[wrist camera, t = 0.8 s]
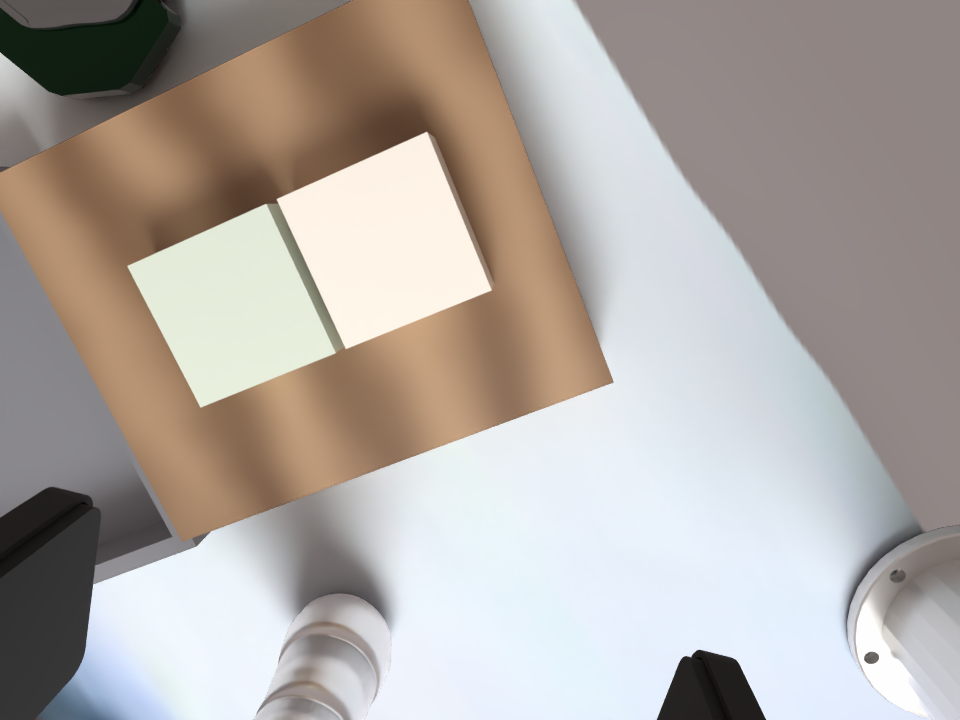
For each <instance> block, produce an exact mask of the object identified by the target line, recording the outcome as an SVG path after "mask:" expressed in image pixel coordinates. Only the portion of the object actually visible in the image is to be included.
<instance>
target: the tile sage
mask: <svg viewBox="0 0 960 720" xmlns="http://www.w3.org/2000/svg"><path fill="white" fill-rule="evenodd" d="M127 267H128V269H129V271H130V273H131V274H132V276H133V278H134V280H135V282H136V284H137V286H138V288H139V290H140V292H141V294H142V296H143V298H144V300H145V301H146V303H147V305H148V307H149V309H150V311H151V313H152V315H153V317H154V319H155V321H156V323H157V325H158V327H159V328H160V330H161V332H162V334H163V336H164V338H165V340H166V342H167V344H168V346H169V348H170V350H171V352H172V353H173V355H174V357H175V359H176V361H177V363H178V365H179V367H180V369H181V371H182V373H183V375H184V377H185V379H186V380H187V382H188V384H189V386H190V388H191V390H192V392H193V394H194V396H195V398H196V400H197V402H198V404H199V406H200V407H203V406H206V405H208V404H211V403H213V402H216V401H218V400H221V399H223V398H226V397H228V396H231V395H233V394H236V393H238V392H241V391H243V390H246V389H248V388H251V387H253V386H256V385H258V384H261V383H263V382H266V381H268V380H270V379H273V378H275V377H278V376H280V375H283V374H285V373H288V372H290V371H293V370H295V369H298V368H300V367H303V366H305V365H308V364H310V363H313V362H315V361H318V360H320V359H323V358H325V357H328V356H330V355H333V354H335V353H337V352H338V351H339V350H340V349H342V348H343V347H344V344H343V342H342V340H341V337H340V335H339V333H338V331H337V329H336V327H335V324H334V322H333V320H332V318H331V316H330V314H329V312H328V309H327V307H326V305H325V303H324V301H323V299H322V296H321V294H320V292H319V290H318V288H317V286H316V283H315V281H314V279H313V277H312V275H311V273H310V270H309V268H308V266H307V264H306V262H305V260H304V257H303V255H302V253H301V251H300V249H299V247H298V244H297V242H296V240H295V238H294V236H293V234H292V232H291V229H290V227H289V225H288V223H287V221H286V219H285V216H284V214H283V212H282V210H281V208H280V206H279V204H265V205H262V206H260V207H258V208H256V209H254V210H251V211H249V212H247V213H245V214H242V215H240V216H238V217H236V218H233V219H231V220H229V221H227V222H224V223H222V224H220V225H218V226H216V227H213V228H211V229H209V230H207V231H204V232H202V233H200V234H198V235H195V236H193V237H191V238H189V239H187V240H184V241H182V242H180V243H178V244H175V245H173V246H171V247H169V248H166V249H164V250H162V251H160V252H157V253H155V254H153V255H151V256H149V257H146V258H144V259H142V260H140V261H137V262H135V263H133V264H131V265H128V266H127Z"/></svg>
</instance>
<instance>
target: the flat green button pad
mask: <svg viewBox="0 0 960 720" xmlns="http://www.w3.org/2000/svg"><path fill="white" fill-rule="evenodd" d="M162 1H163V0H0V52H1V53H2V54H3V55H4V56H6V57H7V58H8V59H9V60H10V61H12V62H13V63H14V64H15V65H17V66H18V67H19V68H20V69H21V70H23V71H24V72H25V73H26V74H28V75H29V76H30V77H31V78H33V79H34V80H35V81H36V82H37V83H39V84H40V85H41V86H42V87H44V88H45V89H46V90H47V91H49V92H52V93H55V94H58V95H61V96H65V97H69V98H74V99H86V98H95V97H104V96H113V95H123V94H132V93H134V92H136V91H137V90H139V89H140V88H142V87H144V85H145V83H146V82H147V80H148V79H149V77H150V76H151V74H152V72H153V71H154V69H155V68H156V66H157V65H158V63H159V62H160V60H161V58H162V57H163V55H164V54H165V52H166V51H167V49H168V48H169V46H170V44H171V43H172V41H173V40H174V38H175V37H176V35H177V33H178V32H179V30H180V29H181V24H180V18H179V15H177V14H176V13H175V12H174V11H173V10H171V9H170V8H169V7H168V6H167V5H166V4H164V3H163V2H162Z"/></svg>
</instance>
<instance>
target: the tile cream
mask: <svg viewBox="0 0 960 720" xmlns="http://www.w3.org/2000/svg"><path fill="white" fill-rule="evenodd" d="M277 201H278V203H279V206H280V208H281V210H282V212H283V214H284V216H285V219H286V221H287V223H288V225H289V227H290V229H291V232H292V234H293V236H294V238H295V240H296V242H297V244H298V247H299V249H300V251H301V253H302V255H303V257H304V260H305V262H306V264H307V266H308V268H309V270H310V273H311V275H312V277H313V279H314V281H315V283H316V286H317V288H318V290H319V292H320V294H321V296H322V299H323V301H324V303H325V305H326V307H327V309H328V312H329V314H330V316H331V318H332V320H333V322H334V324H335V327H336V329H337V331H338V333H339V335H340V337H341V340H342V342H343V344H344V346H345V348H346V349H347V348H350V347H352V346H355V345H357V344H360V343H362V342H365V341H367V340H370V339H372V338H375V337H377V336H380V335H382V334H385V333H387V332H390V331H392V330H395V329H397V328H400V327H402V326H405V325H407V324H410V323H412V322H415V321H417V320H420V319H422V318H424V317H427V316H429V315H432V314H434V313H437V312H439V311H442V310H444V309H447V308H449V307H452V306H454V305H457V304H459V303H462V302H464V301H467V300H469V299H472V298H474V297H477V296H479V295H482V294H484V293H487V292H489V291H492V288H493V286H494V281H493V279H492V276H491V274H490V272H489V269H488V267H487V264H486V262H485V259H484V257H483V254H482V252H481V249H480V247H479V244H478V242H477V240H476V237H475V235H474V232H473V230H472V227H471V225H470V222H469V220H468V217H467V215H466V212H465V210H464V208H463V205H462V203H461V200H460V198H459V195H458V193H457V190H456V188H455V185H454V183H453V181H452V178H451V176H450V173H449V171H448V168H447V166H446V163H445V161H444V158H443V156H442V153H441V151H440V149H439V146H438V144H437V141H436V139H435V137H434V136H432V135H431V134H429V133H428V132H425V133H423V134H421V135H419V136H417V137H414V138H412V139H410V140H408V141H405V142H403V143H401V144H399V145H396V146H394V147H392V148H390V149H388V150H385V151H383V152H381V153H379V154H376V155H374V156H372V157H370V158H367V159H365V160H363V161H361V162H358V163H356V164H354V165H352V166H350V167H347V168H345V169H343V170H341V171H338V172H336V173H334V174H332V175H329V176H327V177H325V178H323V179H321V180H318V181H316V182H314V183H312V184H309V185H307V186H305V187H303V188H300V189H298V190H296V191H294V192H291V193H289V194H287V195H285V196H283V197H280V198H278V199H277Z"/></svg>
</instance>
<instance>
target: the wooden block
mask: <svg viewBox="0 0 960 720" xmlns="http://www.w3.org/2000/svg"><path fill="white" fill-rule="evenodd" d="M425 132H428V133H429V134H431V135H432V136H434V137H435V139H436V141H437V144H438V146H439V149H440V151H441V153H442V156H443V158H444V161H445V163H446V166H447V168H448V171H449V173H450V176H451V178H452V181H453V183H454V185H455V188H456V190H457V193H458V195H459V198H460V200H461V203H462V205H463V208H464V210H465V212H466V215H467V217H468V220H469V222H470V225H471V227H472V230H473V232H474V235H475V237H476V240H477V242H478V244H479V247H480V249H481V252H482V254H483V257H484V259H485V262H486V264H487V267H488V269H489V272H490V274H491V276H492V279H493V281H494V286H493V288H492V291H489V292H487V293H484V294H482V295H479V296H477V297H474V298H472V299H469V300H467V301H464V302H462V303H459V304H457V305H454V306H452V307H449V308H447V309H444V310H442V311H439V312H437V313H434V314H432V315H429V316H427V317H424V318H422V319H420V320H417V321H415V322H412V323H410V324H407V325H405V326H402V327H400V328H397V329H395V330H392V331H390V332H387V333H385V334H382V335H380V336H377V337H375V338H372V339H370V340H367V341H365V342H362V343H360V344H357V345H355V346H352V347H350V348H347V349H346V348H345V346H344V347H343V348H342V349H340V350H339V351H338V352H337V353H335V354H333V355H330V356H328V357H325V358H323V359H320V360H318V361H315V362H313V363H310V364H308V365H305V366H303V367H300V368H298V369H295V370H293V371H290V372H288V373H285V374H283V375H280V376H278V377H275V378H273V379H270V380H268V381H266V382H263V383H261V384H258V385H256V386H253V387H251V388H248V389H246V390H243V391H241V392H238V393H236V394H233V395H231V396H228V397H226V398H223V399H221V400H218V401H216V402H213V403H211V404H208V405H206V406H203V407H200V406H199V404H198V402H197V400H196V398H195V396H194V394H193V392H192V390H191V388H190V386H189V384H188V382H187V380H186V379H185V377H184V375H183V373H182V371H181V369H180V367H179V365H178V363H177V361H176V359H175V357H174V355H173V353H172V352H171V350H170V348H169V346H168V344H167V342H166V340H165V338H164V336H163V334H162V332H161V330H160V328H159V327H158V325H157V323H156V321H155V319H154V317H153V315H152V313H151V311H150V309H149V307H148V305H147V303H146V301H145V300H144V298H143V296H142V294H141V292H140V290H139V288H138V286H137V284H136V282H135V280H134V278H133V276H132V274H131V273H130V271H129V269H128V267H127V266H128V265H131V264H133V263H135V262H137V261H140V260H142V259H144V258H146V257H149V256H151V255H153V254H155V253H157V252H160V251H162V250H164V249H166V248H169V247H171V246H173V245H175V244H178V243H180V242H182V241H184V240H187V239H189V238H191V237H193V236H195V235H198V234H200V233H202V232H204V231H207V230H209V229H211V228H213V227H216V226H218V225H220V224H222V223H224V222H227V221H229V220H231V219H233V218H236V217H238V216H240V215H242V214H245V213H247V212H249V211H251V210H254V209H256V208H258V207H260V206H262V205H265V204H279V203H278V201H277V199H278V198H280V197H283V196H285V195H287V194H289V193H291V192H294V191H296V190H298V189H300V188H303V187H305V186H307V185H309V184H312V183H314V182H316V181H318V180H321V179H323V178H325V177H327V176H329V175H332V174H334V173H336V172H338V171H341V170H343V169H345V168H347V167H350V166H352V165H354V164H356V163H358V162H361V161H363V160H365V159H367V158H370V157H372V156H374V155H376V154H379V153H381V152H383V151H385V150H388V149H390V148H392V147H394V146H396V145H399V144H401V143H403V142H405V141H408V140H410V139H412V138H414V137H417V136H419V135H421V134H423V133H425ZM0 211H1V213H2V215H3V216H4V218H5V220H6V222H7V224H8V225H9V227H10V229H11V231H12V233H13V235H14V236H15V238H16V240H17V242H18V244H19V245H20V247H21V249H22V251H23V253H24V255H25V256H26V258H27V260H28V262H29V264H30V266H31V267H32V269H33V271H34V273H35V275H36V276H37V278H38V280H39V282H40V284H41V286H42V287H43V289H44V291H45V293H46V295H47V296H48V298H49V300H50V302H51V304H52V306H53V307H54V309H55V311H56V313H57V315H58V317H59V318H60V320H61V322H62V324H63V326H64V327H65V329H66V331H67V333H68V335H69V337H70V338H71V340H72V342H73V344H74V346H75V347H76V349H77V351H78V353H79V355H80V357H81V358H82V360H83V362H84V364H85V366H86V368H87V369H88V371H89V373H90V375H91V377H92V378H93V380H94V382H95V384H96V386H97V388H98V389H99V391H100V393H101V395H102V397H103V398H104V400H105V402H106V404H107V406H108V408H109V409H110V411H111V413H112V415H113V417H114V419H115V420H116V422H117V424H118V426H119V428H120V429H121V431H122V433H123V435H124V437H125V439H126V440H127V442H128V444H129V446H130V448H131V449H132V451H133V453H134V455H135V457H136V459H137V460H138V462H139V464H140V466H141V468H142V470H143V471H144V473H145V475H146V477H147V479H148V480H149V482H150V484H151V486H152V488H153V490H154V491H155V493H156V495H157V497H158V499H159V500H160V502H161V504H162V506H163V508H164V510H165V511H166V513H167V515H168V517H169V519H170V521H171V522H172V524H173V526H174V528H175V530H176V531H177V533H178V535H179V537H180V539H181V541H182V542H183V541H186V540H188V539H191V538H194V537H197V536H199V535H202V534H205V533H207V532H210V531H213V530H216V529H218V528H221V527H224V526H226V525H229V524H232V523H234V522H237V521H240V520H243V519H245V518H248V517H251V516H253V515H256V514H259V513H262V512H264V511H267V510H270V509H272V508H275V507H278V506H280V505H283V504H286V503H289V502H291V501H294V500H297V499H299V498H302V497H305V496H308V495H310V494H313V493H316V492H318V491H321V490H324V489H326V488H329V487H332V486H335V485H337V484H340V483H343V482H345V481H348V480H351V479H354V478H356V477H359V476H362V475H364V474H367V473H370V472H372V471H375V470H378V469H381V468H383V467H386V466H389V465H391V464H394V463H397V462H400V461H402V460H405V459H408V458H410V457H413V456H416V455H418V454H421V453H424V452H427V451H429V450H432V449H435V448H437V447H440V446H443V445H446V444H448V443H451V442H454V441H456V440H459V439H462V438H464V437H467V436H470V435H473V434H475V433H478V432H481V431H483V430H486V429H489V428H491V427H494V426H497V425H500V424H502V423H505V422H508V421H510V420H513V419H516V418H519V417H521V416H524V415H527V414H529V413H532V412H535V411H537V410H540V409H543V408H546V407H548V406H551V405H554V404H556V403H559V402H562V401H565V400H567V399H570V398H573V397H575V396H578V395H581V394H583V393H586V392H589V391H592V390H594V389H597V388H600V387H602V386H605V385H608V384H611V383H613V379H612V376H611V374H610V371H609V369H608V366H607V363H606V361H605V358H604V355H603V353H602V350H601V348H600V345H599V342H598V340H597V337H596V334H595V332H594V329H593V327H592V324H591V321H590V319H589V316H588V313H587V311H586V308H585V306H584V303H583V300H582V298H581V295H580V292H579V290H578V287H577V285H576V282H575V279H574V277H573V274H572V271H571V269H570V266H569V264H568V261H567V258H566V256H565V253H564V250H563V248H562V245H561V243H560V240H559V237H558V235H557V232H556V229H555V227H554V224H553V222H552V219H551V216H550V214H549V211H548V208H547V206H546V203H545V200H544V198H543V195H542V193H541V190H540V187H539V185H538V182H537V179H536V177H535V174H534V172H533V169H532V166H531V164H530V161H529V158H528V156H527V153H526V151H525V148H524V145H523V143H522V140H521V137H520V135H519V132H518V130H517V127H516V124H515V122H514V119H513V116H512V114H511V111H510V109H509V106H508V103H507V101H506V98H505V95H504V93H503V90H502V88H501V85H500V82H499V80H498V77H497V74H496V72H495V69H494V67H493V64H492V61H491V59H490V56H489V53H488V51H487V48H486V46H485V43H484V40H483V38H482V35H481V32H480V30H479V27H478V25H477V22H476V19H475V17H474V14H473V11H472V9H471V6H470V4H469V1H468V0H352V1H350V2H348V3H346V4H344V5H342V6H340V7H338V8H336V9H334V10H332V11H330V12H328V13H326V14H324V15H322V16H320V17H318V18H315V19H313V20H311V21H309V22H307V23H305V24H303V25H301V26H299V27H297V28H295V29H293V30H291V31H289V32H287V33H285V34H283V35H281V36H279V37H277V38H275V39H272V40H270V41H268V42H266V43H264V44H262V45H260V46H258V47H256V48H254V49H252V50H250V51H248V52H246V53H244V54H242V55H240V56H238V57H236V58H234V59H232V60H230V61H227V62H225V63H223V64H221V65H219V66H217V67H215V68H213V69H211V70H209V71H207V72H205V73H203V74H201V75H199V76H197V77H195V78H193V79H191V80H189V81H187V82H185V83H182V84H180V85H178V86H176V87H174V88H172V89H170V90H168V91H166V92H164V93H162V94H160V95H158V96H156V97H154V98H152V99H150V100H148V101H146V102H144V103H142V104H140V105H137V106H135V107H133V108H131V109H129V110H127V111H125V112H123V113H121V114H119V115H117V116H115V117H113V118H111V119H109V120H107V121H105V122H103V123H101V124H99V125H97V126H94V127H92V128H90V129H88V130H86V131H84V132H82V133H80V134H78V135H76V136H74V137H72V138H70V139H68V140H66V141H64V142H62V143H60V144H58V145H56V146H54V147H52V148H49V149H47V150H45V151H43V152H41V153H39V154H37V155H35V156H33V157H31V158H29V159H27V160H25V161H23V162H21V163H19V164H17V165H15V166H13V167H11V168H9V169H7V170H4V171H2V172H0Z"/></svg>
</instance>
